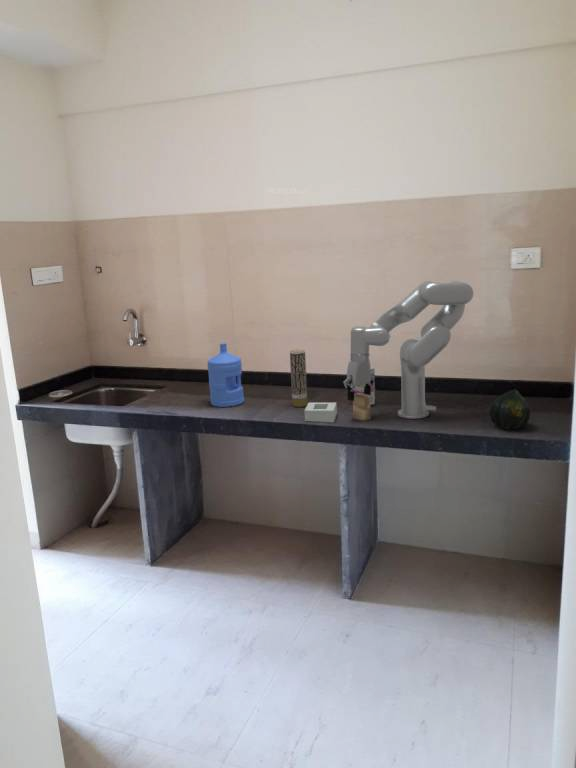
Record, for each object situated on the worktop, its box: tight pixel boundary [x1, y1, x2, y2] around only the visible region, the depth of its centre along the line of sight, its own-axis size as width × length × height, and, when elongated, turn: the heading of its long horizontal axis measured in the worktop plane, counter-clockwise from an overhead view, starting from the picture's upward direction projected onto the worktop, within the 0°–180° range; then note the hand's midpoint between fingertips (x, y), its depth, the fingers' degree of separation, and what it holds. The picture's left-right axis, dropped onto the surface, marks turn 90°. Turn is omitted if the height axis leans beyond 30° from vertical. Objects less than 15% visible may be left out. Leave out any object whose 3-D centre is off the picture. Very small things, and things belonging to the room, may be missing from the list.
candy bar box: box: [349, 367, 376, 407], centre depth 283 cm, size 11×5×16 cm, turn 42°
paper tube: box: [289, 349, 308, 408], centre depth 284 cm, size 7×7×25 cm
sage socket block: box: [303, 402, 338, 423], centre depth 266 cm, size 12×12×5 cm
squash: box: [489, 388, 531, 431], centre depth 243 cm, size 14×15×15 cm
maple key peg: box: [352, 393, 371, 421], centre depth 263 cm, size 4×6×10 cm, turn 40°
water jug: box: [207, 343, 245, 408], centre depth 294 cm, size 16×16×28 cm
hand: (359, 398), depth 262 cm, fingers open, 9 cm apart
